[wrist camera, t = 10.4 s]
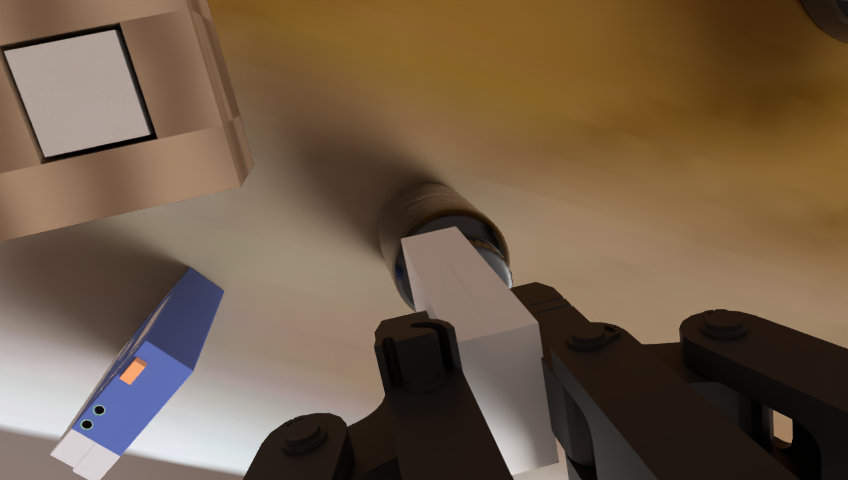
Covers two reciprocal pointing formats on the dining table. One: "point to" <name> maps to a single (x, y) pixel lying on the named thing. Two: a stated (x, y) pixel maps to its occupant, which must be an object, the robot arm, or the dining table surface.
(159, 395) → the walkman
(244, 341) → the dining table surface
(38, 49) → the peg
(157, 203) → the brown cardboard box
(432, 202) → the supplement bottle
